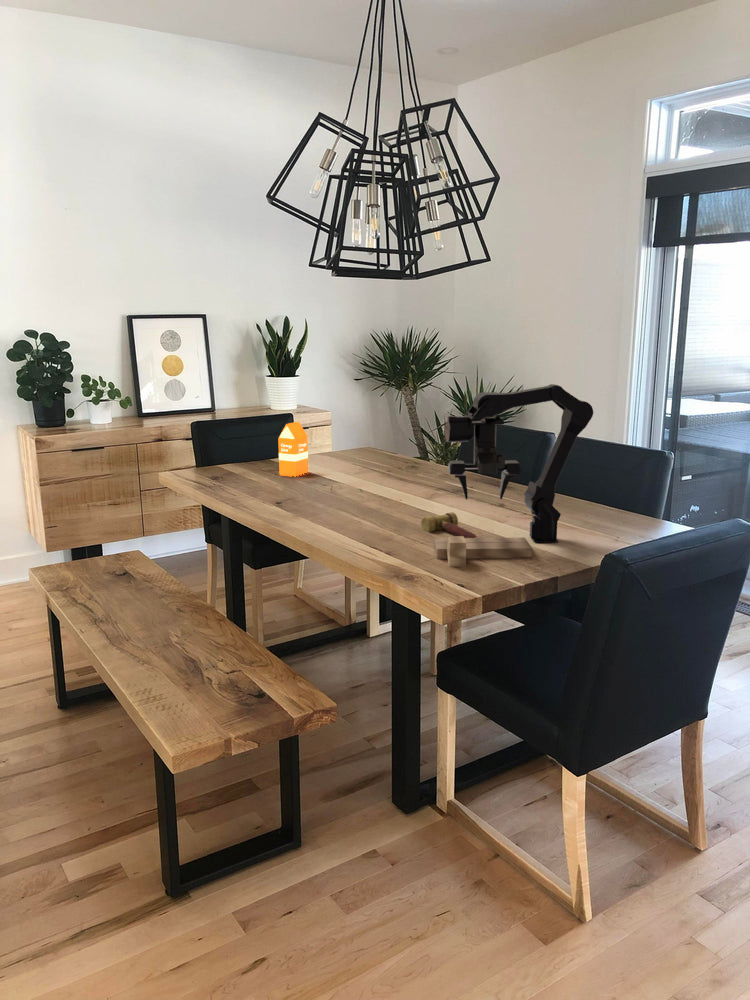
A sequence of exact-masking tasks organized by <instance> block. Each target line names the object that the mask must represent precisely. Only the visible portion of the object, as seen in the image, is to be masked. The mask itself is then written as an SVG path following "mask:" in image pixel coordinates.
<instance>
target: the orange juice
mask: <svg viewBox="0 0 750 1000" xmlns="http://www.w3.org/2000/svg"><path fill="white" fill-rule="evenodd" d="M278 463H279V464H278V466H279V467H278V468H279V469H278V470H279V476H283V477H284V476H285V477H292V476H294V478H295V477H296V476H297V477H300V476H303V475H305V474H304V473H307V472H308V473H309V449H308V435H307V433H306V431H305V430H304V428H303V426H302V425H301V423H300V421H293V422H290V423H286V424H285V426H284V427H283V429H282V431H281V433H280V435H279V437H278ZM308 473H307V474H308ZM302 474H303V475H302ZM299 475H300V476H299Z"/></svg>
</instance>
